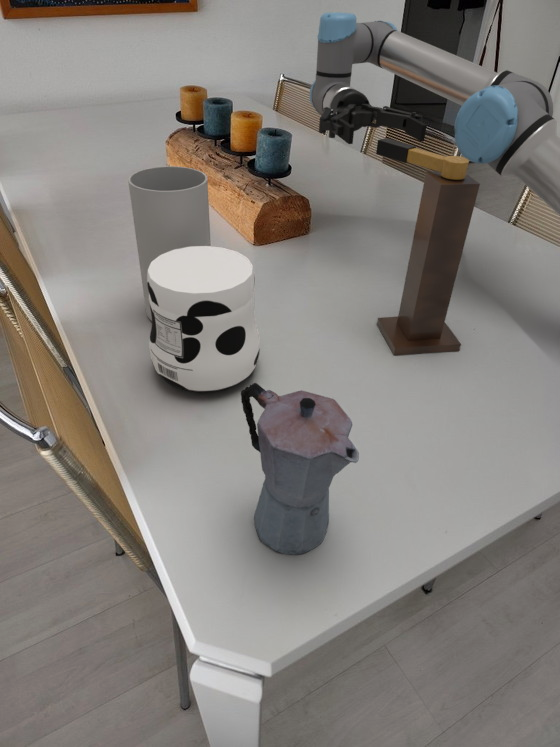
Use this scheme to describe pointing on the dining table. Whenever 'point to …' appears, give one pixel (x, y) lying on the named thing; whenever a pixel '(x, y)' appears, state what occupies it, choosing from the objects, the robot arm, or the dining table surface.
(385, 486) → the dining table surface
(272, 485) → the moka pot
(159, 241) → the cylinder vase
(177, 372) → the milk container
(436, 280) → the stand
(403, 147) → the lever
